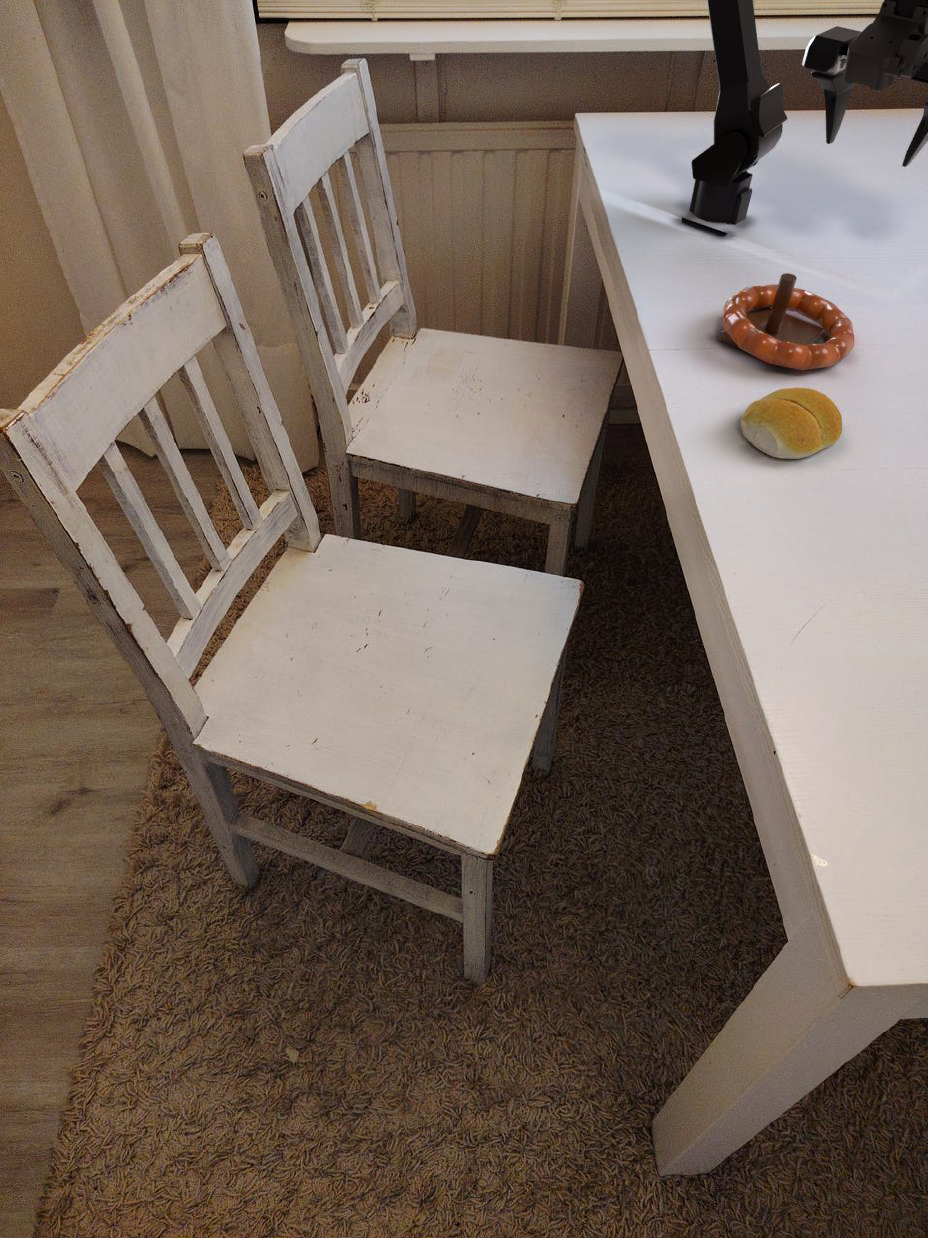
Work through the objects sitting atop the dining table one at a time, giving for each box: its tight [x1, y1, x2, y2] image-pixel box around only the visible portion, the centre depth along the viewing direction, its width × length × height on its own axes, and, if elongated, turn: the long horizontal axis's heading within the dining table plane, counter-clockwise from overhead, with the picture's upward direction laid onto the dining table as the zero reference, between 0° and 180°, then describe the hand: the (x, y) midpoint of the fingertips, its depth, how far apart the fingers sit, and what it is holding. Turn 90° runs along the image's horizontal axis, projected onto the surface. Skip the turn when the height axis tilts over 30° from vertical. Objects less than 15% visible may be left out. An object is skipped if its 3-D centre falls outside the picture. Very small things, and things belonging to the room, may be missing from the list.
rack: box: [718, 272, 825, 368], centre depth 85 cm, size 8×8×7 cm
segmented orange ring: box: [722, 283, 856, 371], centre depth 85 cm, size 14×14×2 cm
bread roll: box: [740, 387, 843, 460], centre depth 75 cm, size 8×9×4 cm
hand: (866, 153), depth 90 cm, fingers open, 9 cm apart
